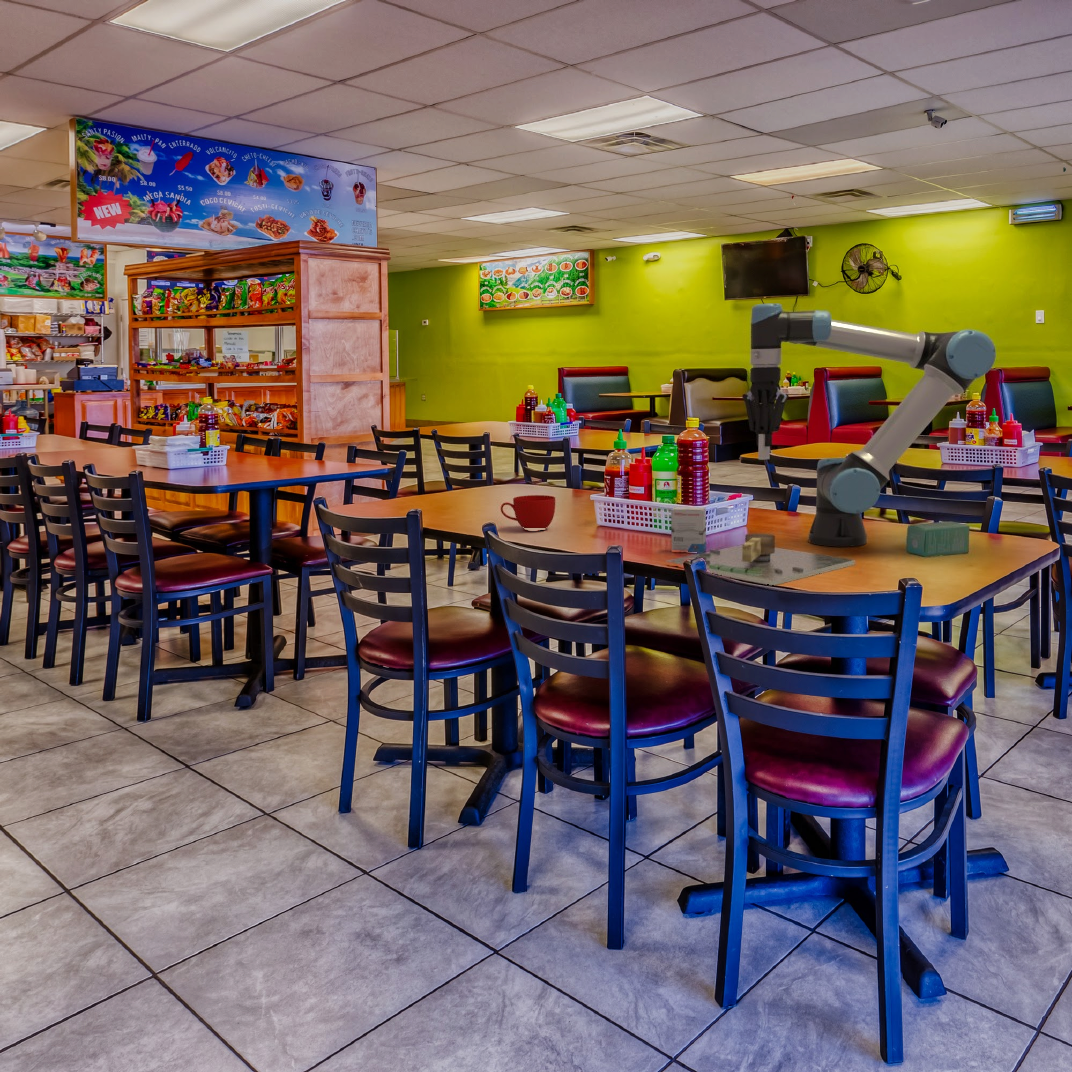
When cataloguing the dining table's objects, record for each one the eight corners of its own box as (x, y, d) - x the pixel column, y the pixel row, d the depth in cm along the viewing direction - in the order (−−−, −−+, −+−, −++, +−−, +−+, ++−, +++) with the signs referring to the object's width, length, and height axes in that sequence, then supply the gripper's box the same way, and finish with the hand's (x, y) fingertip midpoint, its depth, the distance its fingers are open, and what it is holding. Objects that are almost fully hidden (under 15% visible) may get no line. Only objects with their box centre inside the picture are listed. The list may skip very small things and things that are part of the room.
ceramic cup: (499, 528, 296) (498, 496, 295) (553, 525, 298) (552, 494, 296) (502, 535, 284) (501, 502, 282) (558, 532, 286) (557, 499, 284)
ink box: (706, 550, 252) (706, 507, 250) (703, 554, 247) (703, 509, 245) (674, 549, 255) (674, 506, 253) (670, 552, 250) (670, 508, 248)
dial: (749, 548, 236) (749, 532, 235) (777, 550, 233) (777, 534, 232) (729, 562, 220) (729, 545, 219) (759, 564, 216) (759, 547, 216)
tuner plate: (748, 547, 254) (748, 536, 254) (854, 564, 230) (855, 552, 229) (666, 565, 234) (666, 553, 234) (772, 585, 210) (773, 572, 209)
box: (904, 552, 243) (906, 523, 242) (949, 548, 247) (950, 520, 246) (923, 557, 236) (925, 528, 235) (969, 554, 240) (970, 525, 239)
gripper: (735, 367, 243) (734, 458, 247) (777, 366, 233) (775, 461, 237) (754, 366, 247) (752, 456, 251) (796, 365, 237) (793, 459, 241)
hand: (763, 459), depth 244 cm, fingers closed
